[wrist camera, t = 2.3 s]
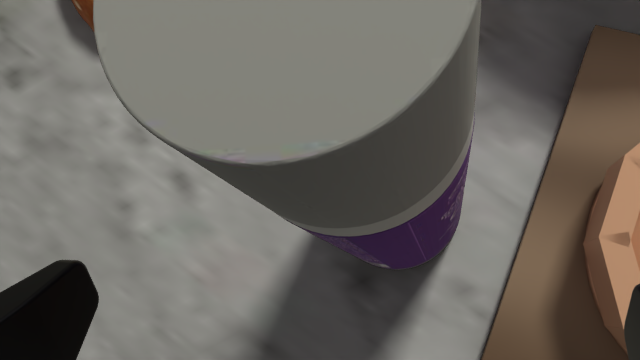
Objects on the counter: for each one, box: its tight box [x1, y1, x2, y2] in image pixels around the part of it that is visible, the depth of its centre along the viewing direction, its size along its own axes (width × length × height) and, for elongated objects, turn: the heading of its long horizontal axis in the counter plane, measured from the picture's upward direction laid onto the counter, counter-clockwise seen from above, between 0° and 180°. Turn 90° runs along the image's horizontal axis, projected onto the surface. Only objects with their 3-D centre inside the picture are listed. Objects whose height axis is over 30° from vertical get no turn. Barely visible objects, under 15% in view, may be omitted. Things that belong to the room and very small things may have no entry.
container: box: [93, 0, 482, 269], centre depth 13 cm, size 5×5×15 cm
